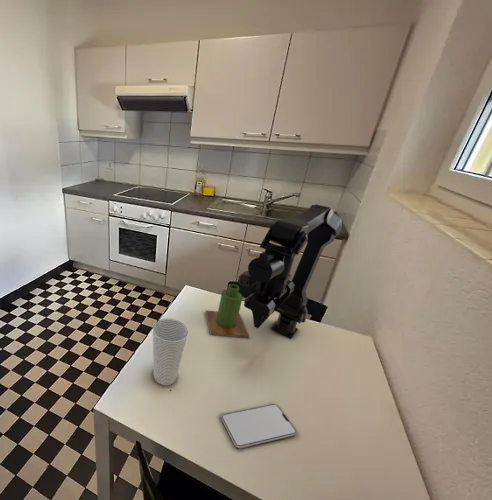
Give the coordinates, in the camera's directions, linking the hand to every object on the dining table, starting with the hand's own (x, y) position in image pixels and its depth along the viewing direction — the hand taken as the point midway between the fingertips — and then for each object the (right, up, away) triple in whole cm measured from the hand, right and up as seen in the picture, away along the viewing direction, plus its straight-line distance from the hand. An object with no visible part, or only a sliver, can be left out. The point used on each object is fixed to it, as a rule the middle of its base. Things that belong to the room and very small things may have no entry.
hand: (263, 320), depth 77 cm
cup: (-27, -14, -3) cm, 31 cm away
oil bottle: (-5, -5, +18) cm, 19 cm away
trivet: (-5, -6, +18) cm, 20 cm away
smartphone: (-8, -20, -14) cm, 26 cm away
